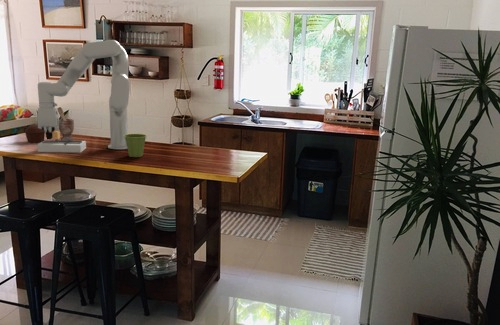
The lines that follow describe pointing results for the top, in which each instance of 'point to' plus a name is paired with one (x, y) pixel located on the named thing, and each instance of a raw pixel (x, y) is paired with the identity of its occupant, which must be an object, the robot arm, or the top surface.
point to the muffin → (34, 134)
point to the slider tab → (56, 135)
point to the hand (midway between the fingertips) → (49, 139)
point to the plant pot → (135, 144)
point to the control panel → (61, 146)
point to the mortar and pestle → (65, 126)
